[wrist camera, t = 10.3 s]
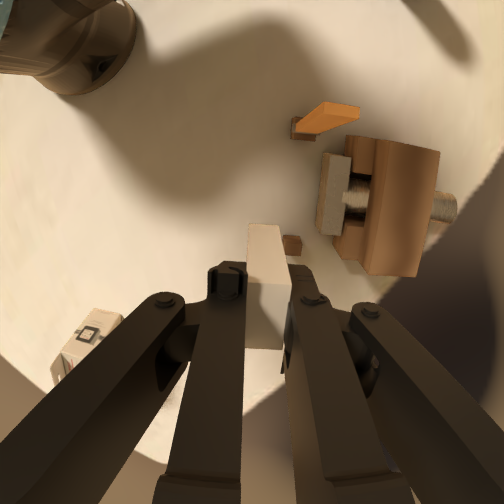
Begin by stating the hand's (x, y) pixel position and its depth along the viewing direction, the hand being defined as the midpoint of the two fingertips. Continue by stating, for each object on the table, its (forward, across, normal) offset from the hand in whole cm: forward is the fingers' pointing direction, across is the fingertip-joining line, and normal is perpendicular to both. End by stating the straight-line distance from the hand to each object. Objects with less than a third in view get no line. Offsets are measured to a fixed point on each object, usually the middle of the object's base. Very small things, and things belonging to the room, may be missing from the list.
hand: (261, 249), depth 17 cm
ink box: (+23, -22, -24) cm, 40 cm away
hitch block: (+23, +11, 0) cm, 25 cm away
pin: (+23, +17, 0) cm, 29 cm away
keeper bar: (+12, +5, +7) cm, 15 cm away
